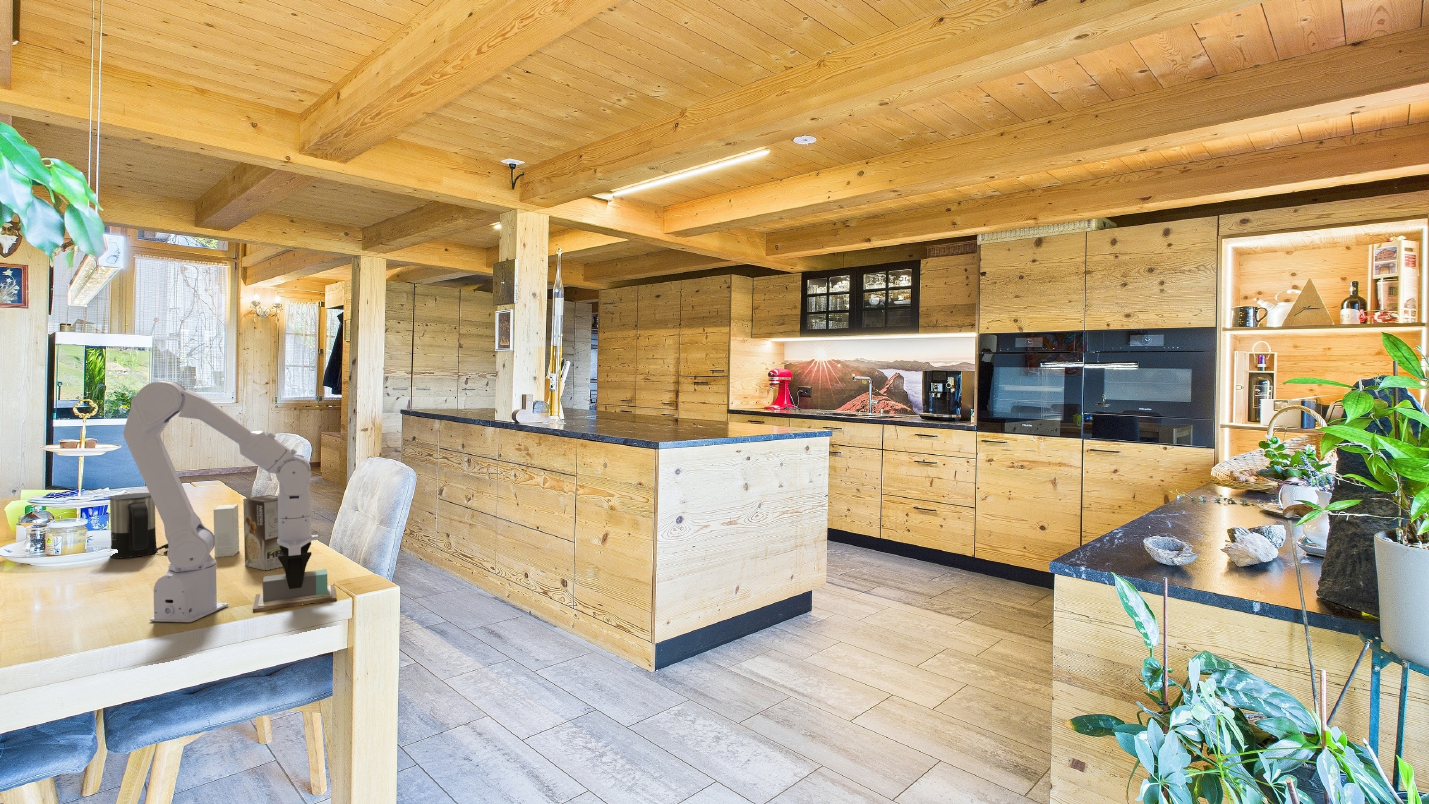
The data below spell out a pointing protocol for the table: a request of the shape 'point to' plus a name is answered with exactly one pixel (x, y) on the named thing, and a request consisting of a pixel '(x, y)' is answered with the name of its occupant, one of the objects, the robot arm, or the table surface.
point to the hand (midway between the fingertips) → (295, 582)
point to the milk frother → (133, 525)
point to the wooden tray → (293, 600)
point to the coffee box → (261, 532)
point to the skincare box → (226, 530)
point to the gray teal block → (279, 589)
